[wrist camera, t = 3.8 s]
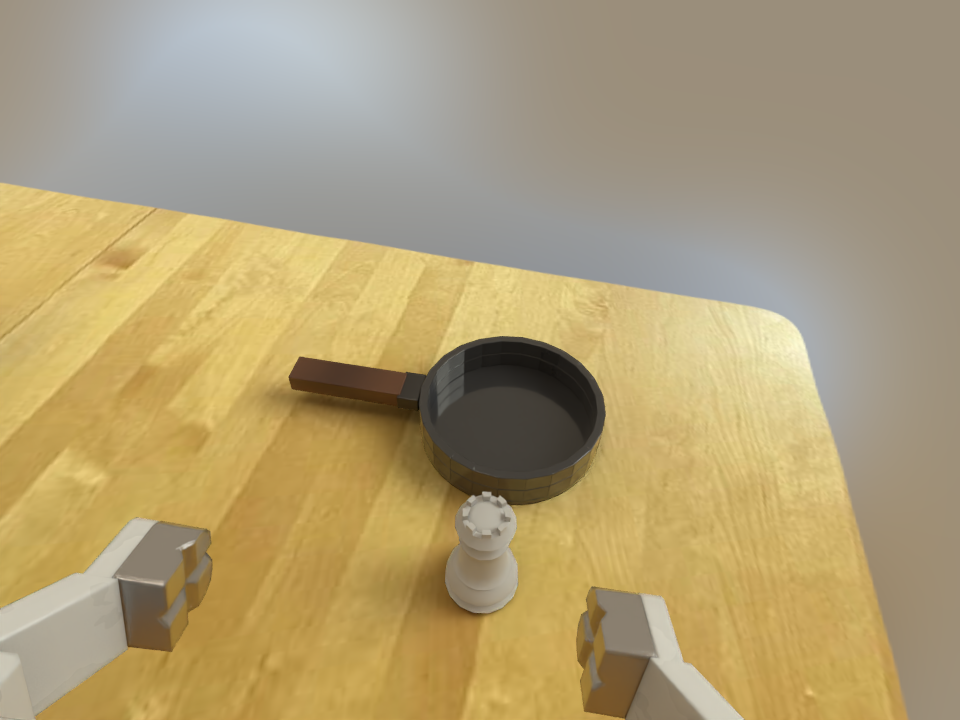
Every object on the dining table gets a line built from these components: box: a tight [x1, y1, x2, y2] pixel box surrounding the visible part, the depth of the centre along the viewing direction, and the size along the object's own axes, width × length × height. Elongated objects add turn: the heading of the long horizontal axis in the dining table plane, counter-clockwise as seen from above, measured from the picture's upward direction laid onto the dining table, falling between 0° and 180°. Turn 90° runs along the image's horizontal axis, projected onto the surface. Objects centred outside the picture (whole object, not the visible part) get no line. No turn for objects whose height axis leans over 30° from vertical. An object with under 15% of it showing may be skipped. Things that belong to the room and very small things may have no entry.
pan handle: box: [289, 357, 426, 411], centre depth 44 cm, size 10×3×1 cm, turn 80°
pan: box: [419, 336, 606, 505], centre depth 43 cm, size 13×13×3 cm
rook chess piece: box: [445, 492, 518, 613], centre depth 33 cm, size 4×4×8 cm
